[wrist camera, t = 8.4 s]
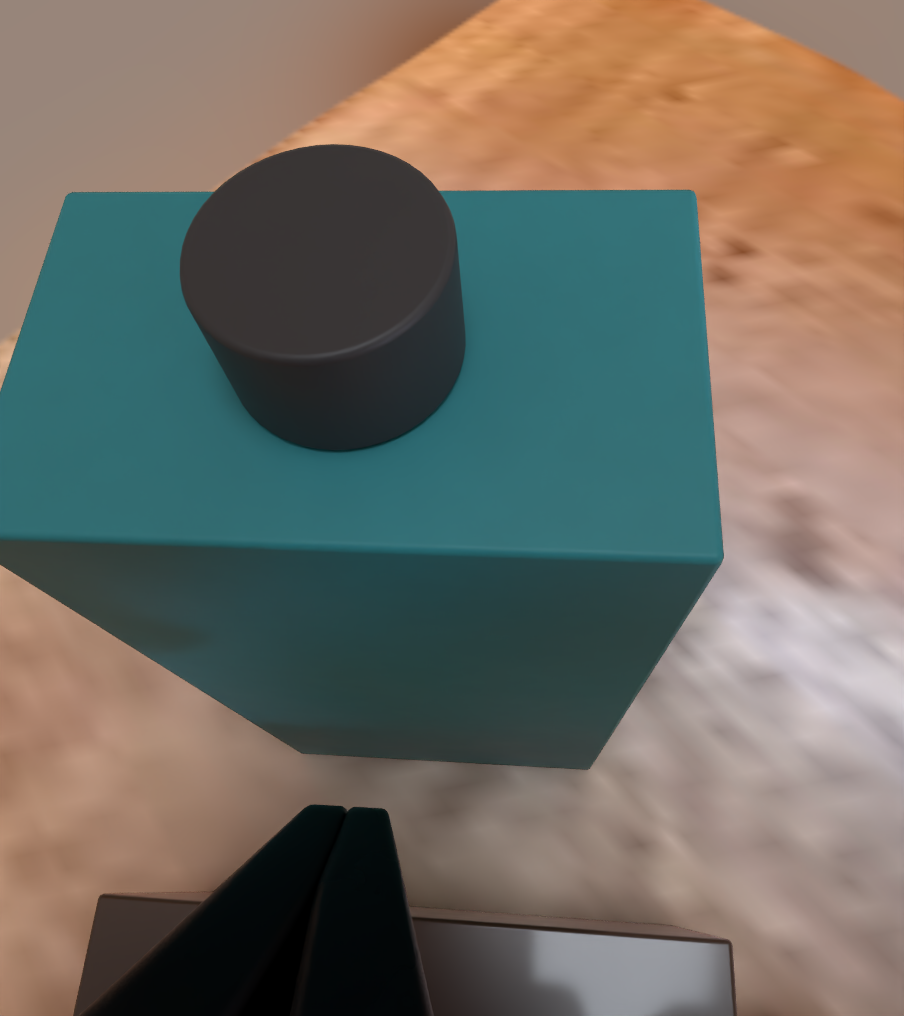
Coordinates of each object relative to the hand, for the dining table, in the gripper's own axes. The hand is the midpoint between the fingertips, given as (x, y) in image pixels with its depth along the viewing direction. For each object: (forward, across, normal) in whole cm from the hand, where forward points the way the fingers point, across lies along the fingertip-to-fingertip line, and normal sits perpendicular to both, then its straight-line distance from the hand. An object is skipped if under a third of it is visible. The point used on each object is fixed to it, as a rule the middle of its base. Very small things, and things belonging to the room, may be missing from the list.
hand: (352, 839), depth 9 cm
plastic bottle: (+7, 0, +6) cm, 9 cm away
